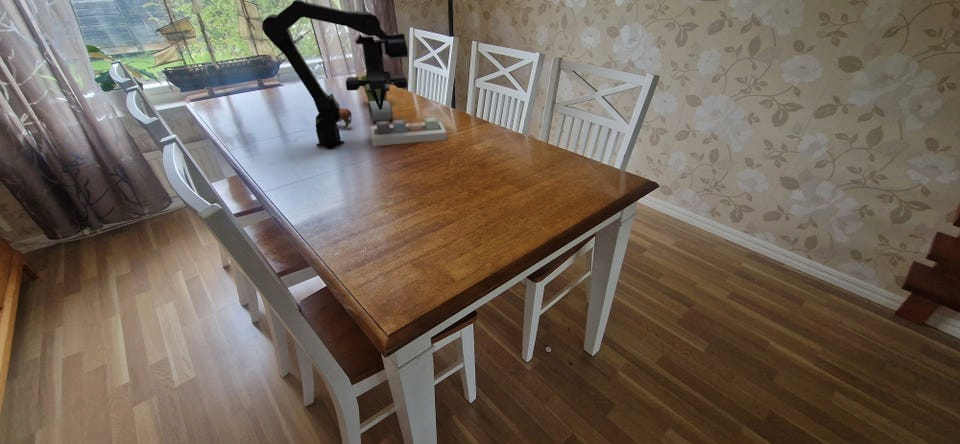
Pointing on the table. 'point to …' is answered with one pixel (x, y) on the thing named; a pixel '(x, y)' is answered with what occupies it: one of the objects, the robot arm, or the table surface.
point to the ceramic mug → (380, 111)
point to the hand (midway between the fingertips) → (380, 109)
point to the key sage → (431, 123)
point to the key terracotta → (415, 127)
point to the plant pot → (369, 95)
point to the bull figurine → (345, 117)
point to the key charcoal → (383, 127)
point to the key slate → (399, 126)
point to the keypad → (408, 135)
